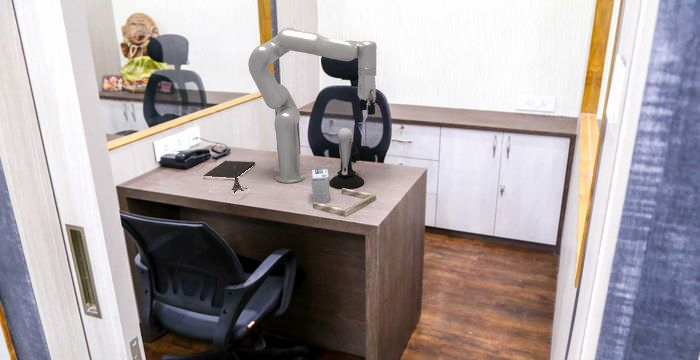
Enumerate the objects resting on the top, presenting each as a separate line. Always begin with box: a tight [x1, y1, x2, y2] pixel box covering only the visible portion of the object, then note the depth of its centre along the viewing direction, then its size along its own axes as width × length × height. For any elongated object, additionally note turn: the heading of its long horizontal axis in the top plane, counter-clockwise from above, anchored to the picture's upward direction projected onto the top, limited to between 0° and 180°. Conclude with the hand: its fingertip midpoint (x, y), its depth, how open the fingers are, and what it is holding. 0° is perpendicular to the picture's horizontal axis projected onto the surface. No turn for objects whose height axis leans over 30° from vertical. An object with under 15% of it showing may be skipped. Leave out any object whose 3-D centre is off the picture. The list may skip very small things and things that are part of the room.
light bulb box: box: [311, 168, 330, 204], centre depth 209 cm, size 11×7×11 cm, turn 5°
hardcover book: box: [203, 160, 256, 178], centre depth 247 cm, size 16×23×2 cm
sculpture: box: [329, 127, 365, 190], centre depth 226 cm, size 15×24×25 cm, turn 167°
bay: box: [312, 188, 377, 218], centre depth 204 cm, size 16×20×2 cm
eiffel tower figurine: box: [231, 166, 244, 193], centre depth 218 cm, size 15×10×13 cm
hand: (367, 112), depth 223 cm, fingers open, 9 cm apart
